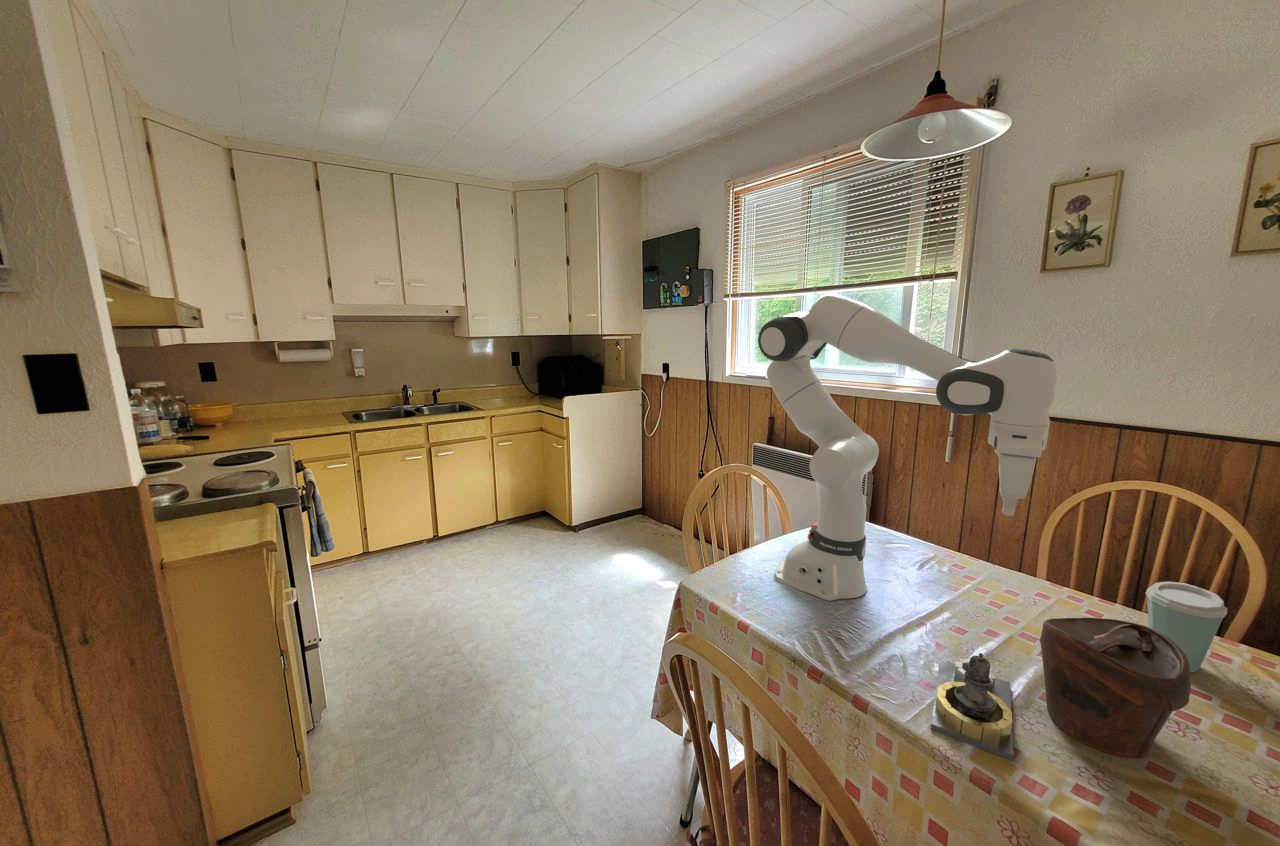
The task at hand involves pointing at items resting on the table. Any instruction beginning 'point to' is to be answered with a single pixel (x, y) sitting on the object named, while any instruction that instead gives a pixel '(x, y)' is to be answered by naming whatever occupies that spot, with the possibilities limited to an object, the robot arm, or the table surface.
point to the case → (1112, 682)
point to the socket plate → (968, 730)
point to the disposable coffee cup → (1185, 617)
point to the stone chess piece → (976, 691)
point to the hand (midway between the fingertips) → (1007, 506)
